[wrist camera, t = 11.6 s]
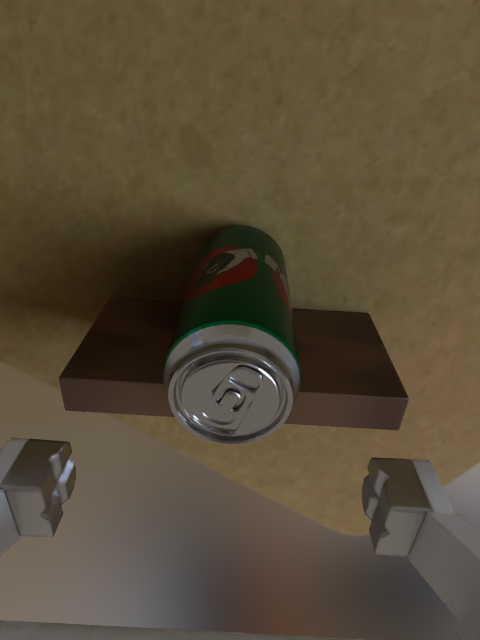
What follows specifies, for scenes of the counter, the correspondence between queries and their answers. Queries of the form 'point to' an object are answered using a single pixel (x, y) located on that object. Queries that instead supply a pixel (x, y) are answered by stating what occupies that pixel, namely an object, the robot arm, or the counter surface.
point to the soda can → (234, 342)
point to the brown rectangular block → (313, 349)
